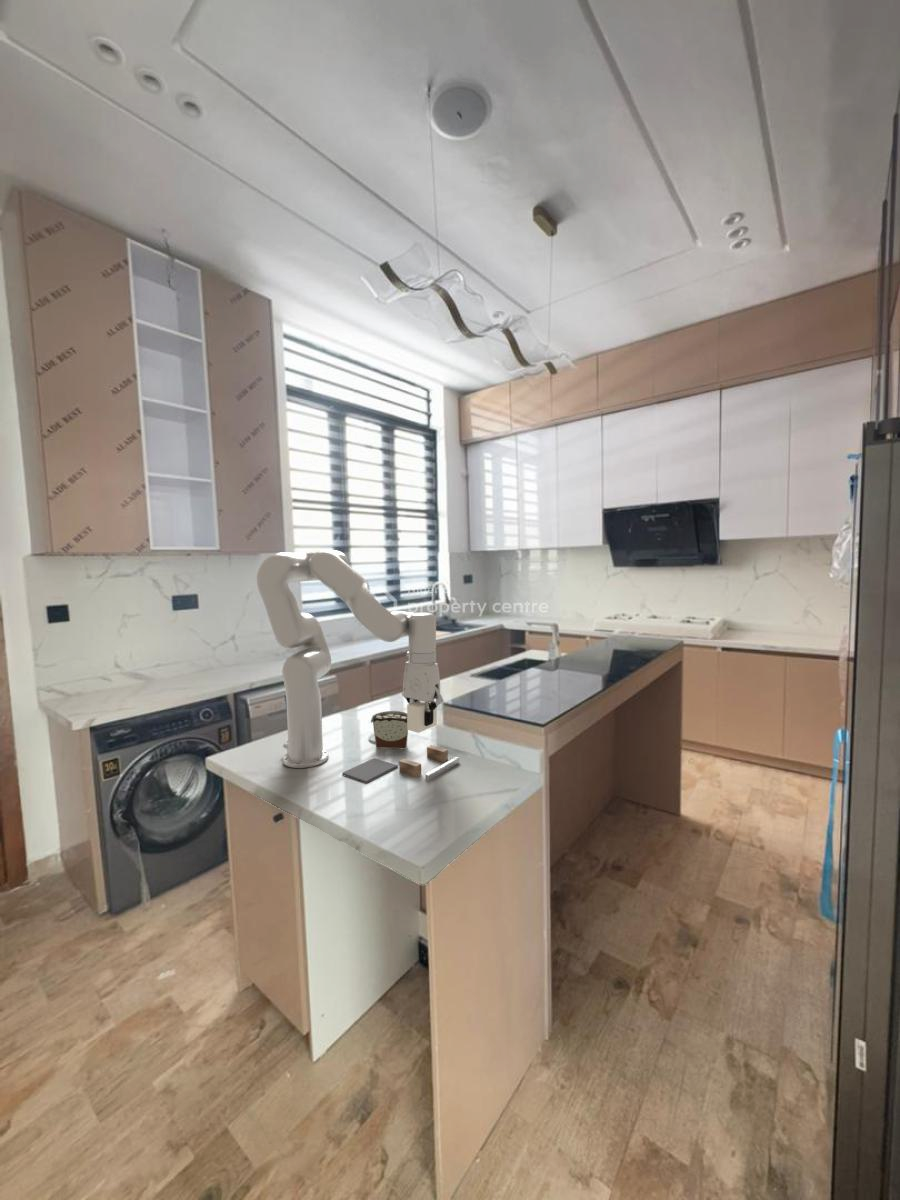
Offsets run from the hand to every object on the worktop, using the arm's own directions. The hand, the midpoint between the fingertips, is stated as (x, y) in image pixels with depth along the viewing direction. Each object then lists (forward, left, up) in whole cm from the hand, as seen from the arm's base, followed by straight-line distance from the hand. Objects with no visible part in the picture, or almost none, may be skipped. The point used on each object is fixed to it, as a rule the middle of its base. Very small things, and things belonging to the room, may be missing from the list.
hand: (422, 722), depth 136 cm
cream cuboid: (0, 0, -1) cm, 1 cm away
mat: (-10, -11, -12) cm, 19 cm away
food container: (-18, +7, -13) cm, 23 cm away
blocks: (+2, 0, -12) cm, 13 cm away
